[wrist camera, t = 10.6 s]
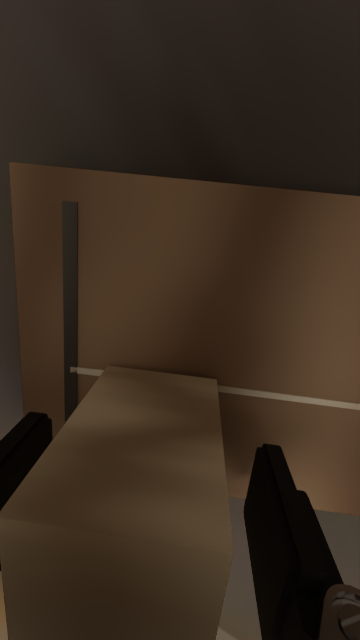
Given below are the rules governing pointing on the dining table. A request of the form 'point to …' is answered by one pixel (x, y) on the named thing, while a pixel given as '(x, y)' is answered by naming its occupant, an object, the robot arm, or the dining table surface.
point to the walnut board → (199, 308)
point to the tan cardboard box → (123, 517)
